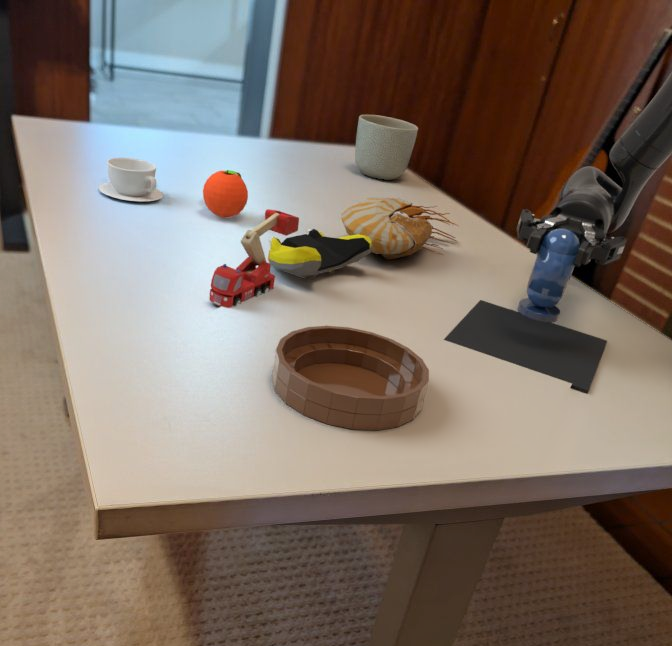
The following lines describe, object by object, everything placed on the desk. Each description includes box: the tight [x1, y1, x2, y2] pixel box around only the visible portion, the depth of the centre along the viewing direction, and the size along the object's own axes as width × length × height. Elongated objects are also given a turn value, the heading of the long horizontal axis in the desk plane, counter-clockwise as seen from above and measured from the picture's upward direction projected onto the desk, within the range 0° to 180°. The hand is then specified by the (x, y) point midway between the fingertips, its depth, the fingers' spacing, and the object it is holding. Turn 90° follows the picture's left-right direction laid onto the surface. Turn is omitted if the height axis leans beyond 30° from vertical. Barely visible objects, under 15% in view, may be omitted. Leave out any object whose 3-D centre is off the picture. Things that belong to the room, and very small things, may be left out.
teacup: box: [97, 157, 164, 202], centre depth 119 cm, size 10×10×5 cm
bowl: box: [271, 325, 430, 431], centre depth 75 cm, size 15×15×4 cm
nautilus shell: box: [340, 196, 459, 261], centre depth 116 cm, size 8×22×15 cm
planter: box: [354, 114, 419, 181], centre depth 158 cm, size 12×12×11 cm
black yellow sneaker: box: [267, 228, 372, 280], centre depth 103 cm, size 15×6×10 cm
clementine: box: [202, 169, 249, 219], centre depth 117 cm, size 8×7×7 cm
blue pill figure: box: [517, 228, 580, 323], centre depth 92 cm, size 5×5×11 cm
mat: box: [443, 299, 608, 394], centre depth 96 cm, size 18×18×1 cm
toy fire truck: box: [209, 208, 300, 309], centre depth 91 cm, size 3×14×10 cm, turn 151°
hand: (557, 251), depth 88 cm, fingers closed on blue pill figure, 4 cm apart
